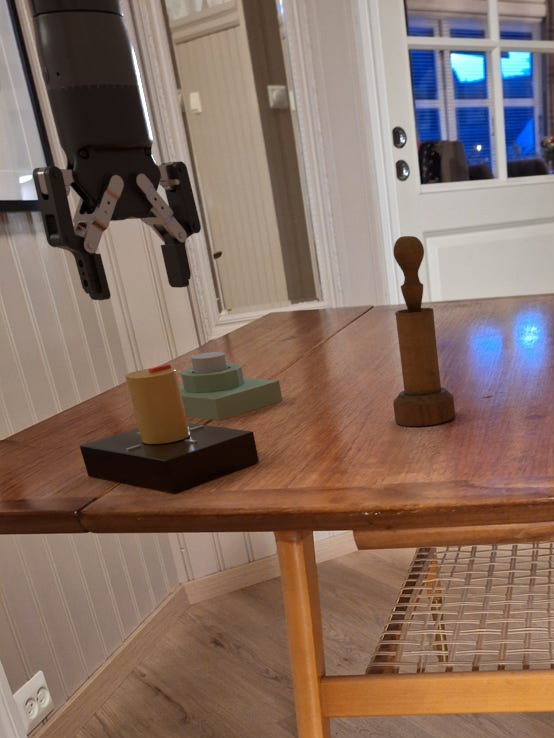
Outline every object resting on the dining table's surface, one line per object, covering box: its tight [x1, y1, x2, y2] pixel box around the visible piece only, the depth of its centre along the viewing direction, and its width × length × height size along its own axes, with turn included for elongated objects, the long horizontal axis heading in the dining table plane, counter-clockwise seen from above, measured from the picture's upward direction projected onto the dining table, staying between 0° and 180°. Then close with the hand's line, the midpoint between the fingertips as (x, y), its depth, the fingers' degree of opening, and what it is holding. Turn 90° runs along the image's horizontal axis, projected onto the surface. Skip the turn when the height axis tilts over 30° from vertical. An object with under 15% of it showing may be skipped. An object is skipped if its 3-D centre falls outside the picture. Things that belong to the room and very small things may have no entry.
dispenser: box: [179, 363, 283, 422], centre depth 105 cm, size 12×10×4 cm
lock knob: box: [124, 363, 190, 444], centre depth 80 cm, size 4×4×6 cm
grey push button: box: [190, 351, 228, 374], centre depth 104 cm, size 4×4×2 cm
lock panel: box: [79, 422, 260, 494], centre depth 82 cm, size 13×10×3 cm
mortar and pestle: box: [392, 235, 456, 427], centre depth 89 cm, size 7×6×18 cm
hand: (142, 293), depth 80 cm, fingers open, 8 cm apart
